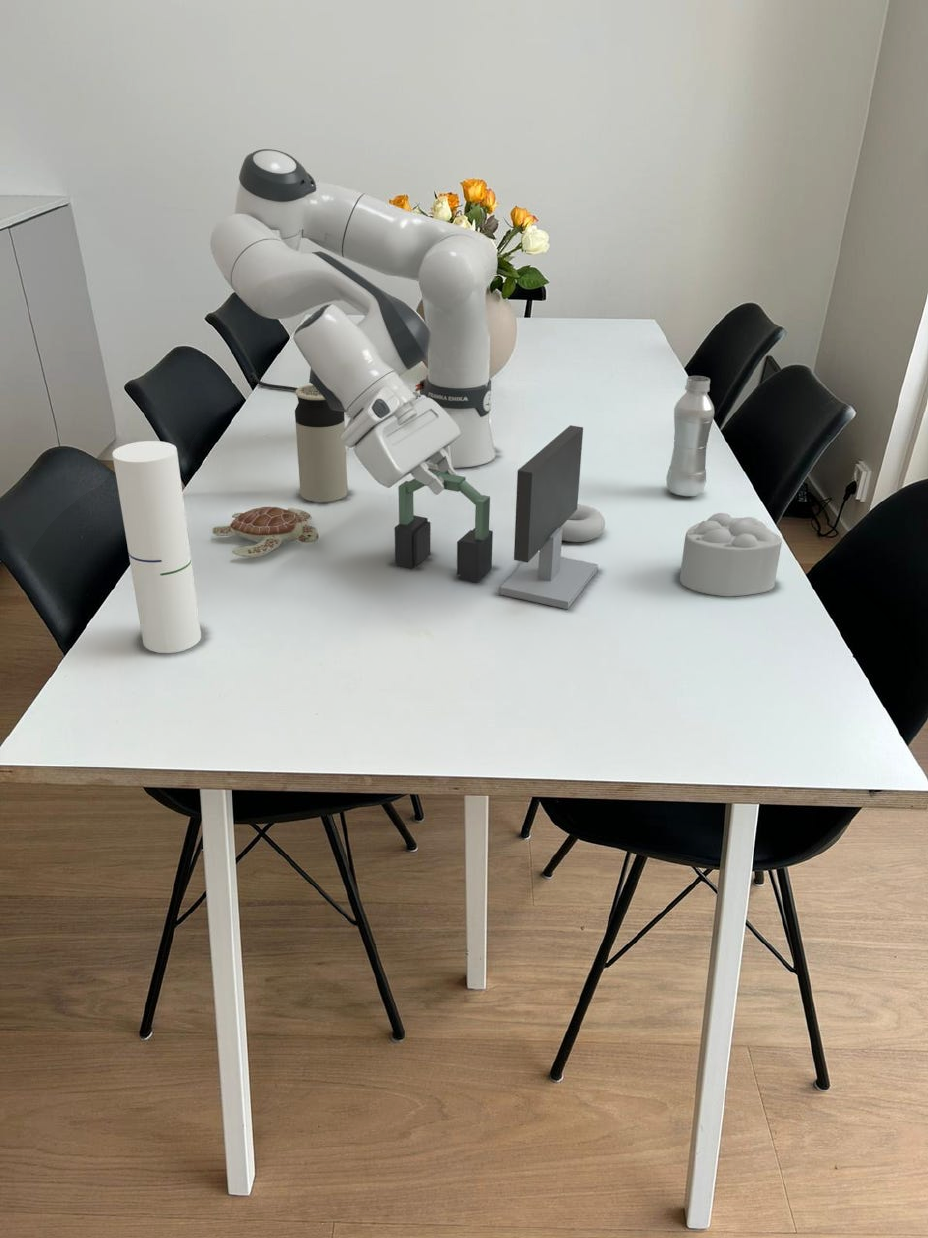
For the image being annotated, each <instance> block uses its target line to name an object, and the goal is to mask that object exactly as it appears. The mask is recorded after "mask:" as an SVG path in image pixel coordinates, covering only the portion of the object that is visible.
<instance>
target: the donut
mask: <svg viewBox="0 0 928 1238" xmlns="http://www.w3.org/2000/svg"><path fill="white" fill-rule="evenodd" d="M605 527H606V519H605V518H604V516H603V514H602V513H601V512H600V510H597V509H596V508H594V507H591V506H589V505H585V504H580V503H578V505H577V510H576V511H575V512H574V513H573V514H572V515H571V517H570V518H569V519H568V520H567V521H566V522H565V523H564V524H563V525H562V526H561V527H560V528H562V542H570V543H583V542H589V541H592V540H594V539H597V538H598V537H599V536H600V535H602V533H604V530H605Z"/></svg>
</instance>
